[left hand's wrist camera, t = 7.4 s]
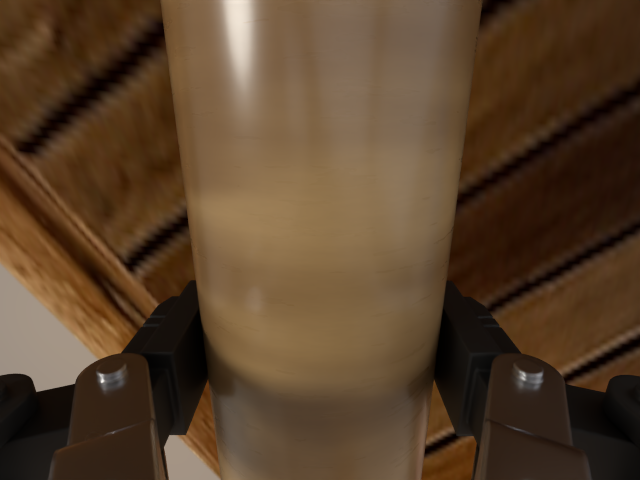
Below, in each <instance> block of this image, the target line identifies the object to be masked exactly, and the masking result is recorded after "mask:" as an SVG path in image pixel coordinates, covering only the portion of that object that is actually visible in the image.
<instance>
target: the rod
mask: <svg viewBox="0 0 640 480" xmlns="http://www.w3.org/2000/svg"><path fill="white" fill-rule="evenodd" d="M481 7H482V0H161V8H162V15H163V23H164V31H165V39H166V47H167V55H168V63H169V71H170V79H171V87H172V95H173V103H174V110H175V118H176V126H177V134H178V142H179V150H180V158H181V166H182V174H183V182H184V190H185V197H186V205H187V213H188V221H189V229H190V237H191V245H192V253H193V261H194V269H195V277H196V284H197V292H198V300H199V308H200V316H201V324H202V332H203V340H204V348H205V356H206V364H207V371H208V379H209V387H210V395H211V403H212V411H213V419H214V427H215V435H216V443H217V451H218V459H219V466H220V474H221V480H421V475H422V467H423V459H424V452H425V444H426V436H427V428H428V420H429V413H430V405H431V397H432V389H433V381H434V373H435V366H436V358H437V350H438V342H439V334H440V327H441V319H442V311H443V303H444V295H445V288H446V280H447V272H448V264H449V256H450V249H451V241H452V233H453V225H454V217H455V210H456V202H457V194H458V186H459V178H460V171H461V163H462V155H463V147H464V139H465V131H466V124H467V116H468V108H469V100H470V92H471V85H472V77H473V69H474V61H475V53H476V46H477V38H478V30H479V22H480V14H481Z"/></svg>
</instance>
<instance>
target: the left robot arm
mask: <svg viewBox="0 0 640 480" xmlns="http://www.w3.org/2000/svg"><path fill="white" fill-rule="evenodd" d="M492 317H493V316H492V315H491V314H490V313H489V311H488V310H487V309H486V308H485V306H484V305H482V304H480V303H479V302H477V301H476V300H474V299H473V298H471V297H463V296H462V295H461V293H460V292H459V290H458V289H457V288H456V286H455V285H454V283H453V282H452V281H446V288H445V295H444V303H443V311H442V319H441V327H440V334H439V342H438V350H437V358H436V366H435V373H434V380H435V383H436V385H437V388H438V390H439V393H440V395H441V397H442V400H443V402H444V405H445V407H446V410H447V412H448V415H449V417H450V420H451V422H452V425H453V427H454V430H455V432H456V435H457V436H474V438H475V440H476V442H477V446H476V451H475V456H474V463H473V470H472V477H471V480H640V377H639V376H634V375H619V376H615V377H613V378H612V379H610V381H609V383H608V386H607V389H606V393H604V392H600V391H595V390H590V389H585V388H581V387H576V386H571V385H568V384H565V382H564V379H563V377H562V376H561V374H560V373H559V372H558V371H557V370H556V369H555V368H553V367H552V366H551V365H549V364H548V363H546V362H544V361H542V360H540V359H538V358H535V357H532V356H529V355H525V354H522V353H521V352H520V351H519V350H518V348H517V347H516V346H515V344H514V343H513V342H512V341H511V339H510V338H509V337H508V336H507V334H506V333H505V332H504V330H503V329H502V328H500V327H499V324H498V323H497V322H496V320H495V319H493V318H492ZM207 380H208V371H207V364H206V356H205V348H204V340H203V332H202V324H201V316H200V308H199V300H198V292H197V284H196V280H191V281H190V282H189V283H188V285H187V286H186V287H185V289H184V290H183V292H182V293H181V295H180V296H172V297H171V298H169V299H167V300H166V301H164V302H163V303H161V304H160V305H158V306H157V308H156V309H155V310H154V311H153V313H152V314H151V315H150V318H148V319H147V320H146V322H145V323H144V324H143V327H141V328H140V329H139V331H138V332H137V333H136V335H135V336H134V337H133V339H132V340H131V341H130V342H129V344H128V345H127V346H126V348H125V349H124V350H123V351H122V353H120V354H115V355H111V356H108V357H105V358H102V359H100V360H98V361H96V362H94V363H92V364H91V365H89V366H88V367H87V368H85V369H84V370H83V371H82V372H81V373H80V374H79V376H78V377H77V379H76V382H75V384H73V385H68V386H63V387H59V388H54V389H49V390H44V391H40V392H36V390H35V387H34V384H33V381H32V379H31V378H30V377H29V376H27V375H24V374H7V375H1V376H0V480H169V477H168V470H167V463H166V456H165V451H164V446H165V443H166V441H167V439H168V437H169V435H186V433H187V431H188V428H189V426H190V423H191V421H192V418H193V416H194V413H195V410H196V408H197V405H198V403H199V400H200V398H201V395H202V393H203V390H204V388H205V385H206V383H207Z"/></svg>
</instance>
